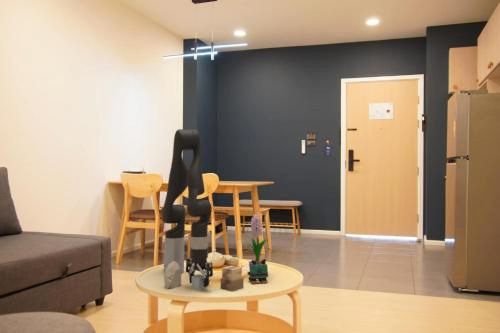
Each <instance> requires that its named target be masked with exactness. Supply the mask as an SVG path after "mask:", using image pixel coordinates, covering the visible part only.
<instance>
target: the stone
mask: <svg viewBox="0 0 500 333" xmlns="http://www.w3.org/2000/svg"><path fill="white" fill-rule="evenodd" d="M163 279H164V281H163V282H164V289H166V288H167V289H166V290H170V289H174V287H175V288H178V287H179V286H181V284H182V273H181V270H180V267H179V264H178V263H177V262H175V261H172V262H171V263H170V264H169V265H168V267H167V268H166V270H165V272H164V278H163ZM169 288H170V289H169Z"/></svg>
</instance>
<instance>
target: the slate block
mask: <svg viewBox="0 0 500 333" xmlns="http://www.w3.org/2000/svg"><path fill="white" fill-rule="evenodd" d="M203 285H204V277H203V274H201V273H200V274H199V273H198V274H196V275H194V276H192V284H191V290H194V291H198V292H200V291H204V290H207V287H204V286H203Z"/></svg>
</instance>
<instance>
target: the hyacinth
mask: <svg viewBox="0 0 500 333" xmlns="http://www.w3.org/2000/svg"><path fill="white" fill-rule="evenodd" d="M250 226H251V228H250V229H251V230H250V232H251V236H252V238H251V243H252V244H251V243H249V242H247V245H249V246H250V247H251V249H252V250H253V252H254V256H255V259H254V260H255V261H257V262H256V264H258V265H260V264H262V262H261V260H262V259H260V256H261V253H262V249H263V247H264V246H265V243H267V241H268V240H266V238H264V239H263V240H262V241H261V242H259V238H260V237H263V235H264V234H263V224H262V219H261V216H260V215H259V214H257V213H256V214H254V215H253V216H252V217H251V219H250ZM255 238H256V239H255ZM255 240H256V241H255ZM252 264H253V262H252V260H248V267H249V270H250V265H252ZM265 264H267V262H265ZM257 280H258V278H257Z"/></svg>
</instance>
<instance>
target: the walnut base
mask: <svg viewBox="0 0 500 333" xmlns="http://www.w3.org/2000/svg"><path fill="white" fill-rule="evenodd" d="M219 286H220V290H225V291H229V292H235V291H236V292H237V291H238V290H242V289H244V277H242V278H240V279H237V280H233V281H231V280H227V279H223V278H222V277H221V278H220V284H219Z"/></svg>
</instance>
